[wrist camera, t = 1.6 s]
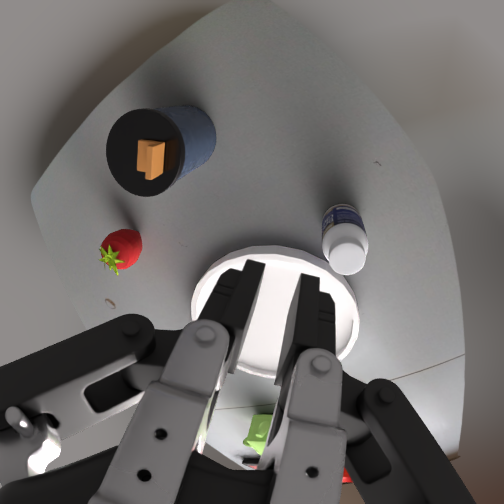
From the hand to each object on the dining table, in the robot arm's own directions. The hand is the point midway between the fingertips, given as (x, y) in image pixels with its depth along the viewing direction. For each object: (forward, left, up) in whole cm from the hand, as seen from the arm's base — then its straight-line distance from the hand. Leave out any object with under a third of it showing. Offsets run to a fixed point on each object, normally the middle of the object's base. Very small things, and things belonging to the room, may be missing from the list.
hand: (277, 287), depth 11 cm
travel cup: (-1, -16, -27) cm, 31 cm away
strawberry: (+15, -25, -27) cm, 40 cm away
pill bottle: (+8, +6, -27) cm, 29 cm away
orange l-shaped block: (-1, -14, -16) cm, 21 cm away
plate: (+27, -1, -27) cm, 38 cm away
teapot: (+64, +4, -27) cm, 70 cm away
